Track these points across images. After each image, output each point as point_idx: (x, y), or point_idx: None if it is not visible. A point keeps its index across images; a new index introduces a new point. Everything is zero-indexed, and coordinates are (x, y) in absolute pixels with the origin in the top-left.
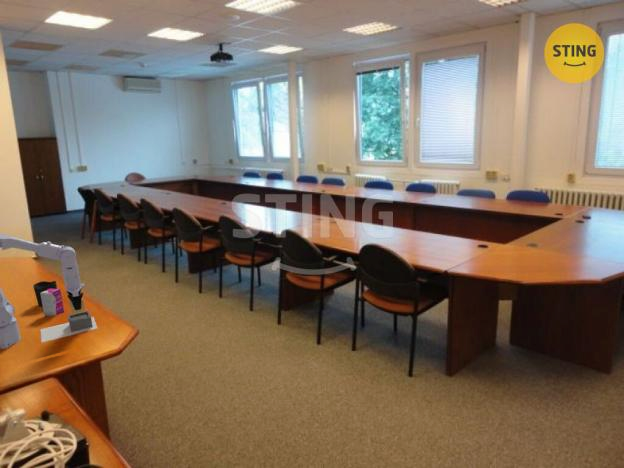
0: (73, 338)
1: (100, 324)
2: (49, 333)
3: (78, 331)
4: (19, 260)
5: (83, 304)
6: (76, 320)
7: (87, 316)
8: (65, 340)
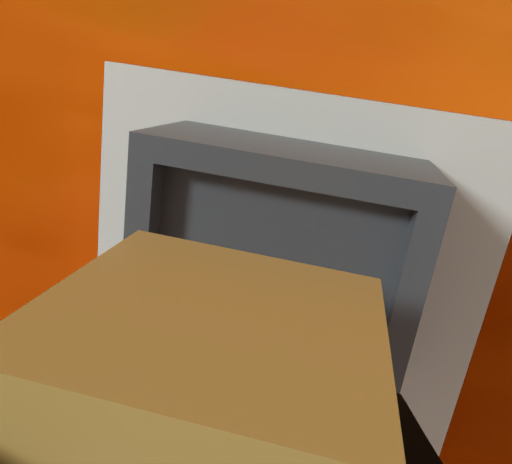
0: (500, 381)
1: (362, 44)
2: None
3: (430, 322)
4: None
5: (386, 375)
6: (397, 383)
7: (295, 195)
8: (476, 442)
